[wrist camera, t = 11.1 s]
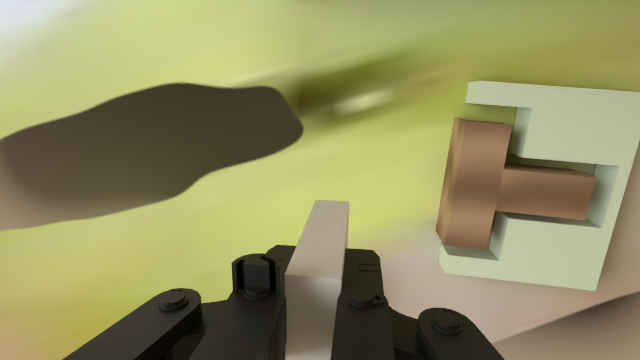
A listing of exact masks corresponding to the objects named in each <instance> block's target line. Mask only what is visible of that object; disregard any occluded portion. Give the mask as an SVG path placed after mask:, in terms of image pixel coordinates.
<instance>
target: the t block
mask: <svg viewBox="0 0 640 360" xmlns="http://www.w3.org/2000/svg"><path fill="white" fill-rule="evenodd" d="M511 130H512V125H509V124H503V123H497V122H487V121H475V120H463V119H454V122H453V128H452V134H451V140H450V147H449V153H448V159H447V165H446V171H445V177H444V183H443V189H442V195H441V201H440V207H439V213H438V219H437V225H436V232H437V233H438V235H439V237H440V239H441V240H442V242H443V244H444V245H447V246H456V247H464V248H473V249H482V250H487V246H488V242H489V237H490V232H491V227H492V222H493V217H494V212H495V211H502V212H511V213H521V214H531V215H540V216H550V217H560V218H569V219H579V220H585V219H586V215H587V211H588V208H589V204H590V200H591V197H592V193H593V189H594V186H595V182H596V178H595V177H592V176H589V175H586V174H583V173H580V172H577V171H574V170H571V169H564V168H553V167H542V166H531V165H520V164H509V163H505V159H506V154H507V149H508V144H509V140H510V135H511Z"/></svg>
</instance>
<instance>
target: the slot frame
mask: <svg viewBox="0 0 640 360" xmlns="http://www.w3.org/2000/svg"><path fill="white" fill-rule="evenodd" d="M465 103H470V104H483V105H496V106H509V107H518V108H517V113H516V118H515V122H514V127H513V132H512V137H511V142H510V147H509V151H508V153H511V154H514V155H517V156H519V157H523V158H534V159H546V160H557V161H568V162H580V163H591V164H597V165H596V168H595V172H594V176H593V177H595V178H596V182H595V186H594V189H593V193H592V197H591V200H590V204H589V208H588V211H587V215H586V219H585V220H579V219H569V218H560V217H550V216H540V215H531V214H521V213H511V212H502V211H496V214H495V219H494V224H493V229H492V234H491V239H490V244H489V248H487V250H482V249H473V248H464V247H456V246H447V245H444V244H443V243H441V248H440V253H439V259H438V260H439V262H440V264H441V266H442V268H443V270H444V272H445V273H449V274H457V275H465V276H474V277H482V278H491V279H499V280H507V281H516V282H524V283H533V284H541V285H550V286H558V287H566V288H575V289H583V290H592V291H595V290H596V287H597V283H598V280H599V277H600V273H601V270H602V266H603V263H604V260H605V256H606V253H607V249H608V246H609V243H610V239H611V236H612V232H613V229H614V226H615V222H616V219H617V215H618V212H619V209H620V205H621V202H622V199H623V195H624V192H625V188H626V185H627V182H628V178H629V175H630V171H631V168H632V165H633V161H634V158H635V154H636V151H637V148H638V144H639V141H640V92H632V91H618V90H604V89H590V88H576V87H562V86H547V85H533V84H519V83H505V82H491V81H474V82H469V83H468V89H467V95H466V101H465Z"/></svg>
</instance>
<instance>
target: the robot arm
mask: <svg viewBox="0 0 640 360" xmlns="http://www.w3.org/2000/svg"><path fill="white" fill-rule="evenodd" d="M348 220H349V202H345V201H326V200H316V201H315V203H314V205H313V208H312V210H311V213H310V215H309V217H308V220H307V222H306V224H305V227H304V229H303V232H302V234H301V236H300V239H299V241H298V244H297V246H287V245H276V246H275V247H273V248H271V249H270V250H268V251H267V253H266V254H249V255H244V256H242V257H240V258H237V259H236V260H235V261H233V262H232V280H233V291H232V293H231V294H230V296H229V298H228V299H227V300H223V301H218V302H210V303H201V296H200V294H199V293H198V292H197V291H194V290H192V289H185V288H178V289H177V288H176V289H171V290H169V291H165V292H162V293H160V294H159V295H157V296H155V297H153V298H152V299H150V300H149V301H147V302H146V303H144V304H143V305H141V306H140V307H139V308H137V309H136V310H134V311H133V312H131V313H130V314H128V315H127V316H125V317H124V318H122V319H121V320H120V321H118V322H117V323H115V324H114V325H112V326H111V327H109V328H108V329H106V330H105V331H103V332H102V333H101V334H99V335H98V336H96V337H95V338H93V339H92V340H90V341H89V342H87V343H86V344H84V345H83V346H82V347H80V348H79V349H77V350H76V351H74V352H73V353H71V354H70V355H68V356H67V357H66V358H64V359H63V360H282V356H283V353H284V349H285V360H504V359H503V357H502V356H501V355H500V354H499V353H498V351H497V350H496V349H495V348H494V347H493V345H492V344H491V343H490V342H489V341H488V340H487V338H486V337H485V336H484V335H483V334H482V333H481V331H480V330H479V329H478V328H477V327H476V325H475V324H474V323H473V322H472V321H471V320H469V319H468V318H467V317H466V316H464V315H462V314H460V313H458V312H456V311H454V310H451V309H446V308H430V309H426V310H424V311H423V312H421V313H420V315H419V318H418V319H415V318H412V317H408V316H405V315H403V314H400V313H398V312H397V311H395V310H393V309H392V308H391V307H390V306H389V305H388V301H387V299H386V297H385V296H384V291H383V282H382V273H381V265H380V257H379V256H378V255H377V254H376V253H375V252H374V251H373V250H363V249H348V248H347V245H348Z"/></svg>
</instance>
